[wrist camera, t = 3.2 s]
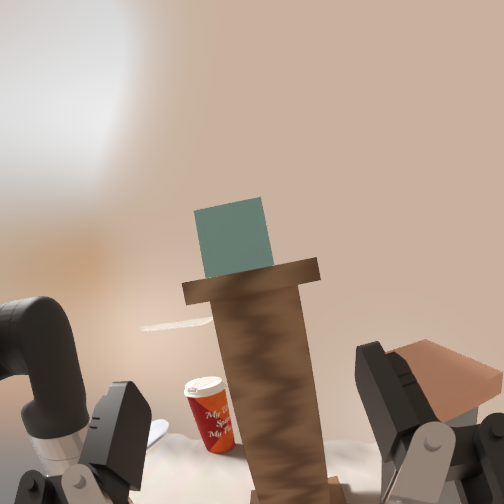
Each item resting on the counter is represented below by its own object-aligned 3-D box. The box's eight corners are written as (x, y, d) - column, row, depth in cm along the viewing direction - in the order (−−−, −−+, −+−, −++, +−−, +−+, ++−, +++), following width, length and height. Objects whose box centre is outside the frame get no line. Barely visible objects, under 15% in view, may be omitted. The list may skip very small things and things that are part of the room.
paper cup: (226, 459, 45) (207, 392, 46) (193, 451, 49) (173, 388, 49) (248, 438, 52) (233, 375, 53) (216, 433, 55) (200, 374, 56)
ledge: (395, 577, 12) (417, 412, 14) (369, 512, 24) (360, 359, 26) (459, 549, 12) (502, 372, 14) (421, 493, 24) (425, 339, 26)
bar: (205, 278, 18) (194, 210, 18) (239, 272, 42) (234, 243, 42) (274, 264, 18) (260, 197, 18) (269, 267, 42) (263, 237, 42)
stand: (250, 534, 25) (181, 283, 27) (253, 497, 33) (200, 279, 35) (349, 518, 25) (316, 257, 26) (337, 483, 33) (305, 259, 34)
